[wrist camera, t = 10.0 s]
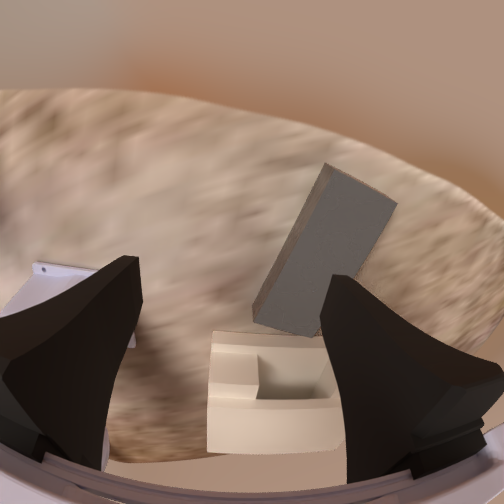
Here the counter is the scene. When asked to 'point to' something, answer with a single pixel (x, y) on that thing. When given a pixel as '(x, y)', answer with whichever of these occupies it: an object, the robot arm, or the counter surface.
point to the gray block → (321, 250)
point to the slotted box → (272, 395)
